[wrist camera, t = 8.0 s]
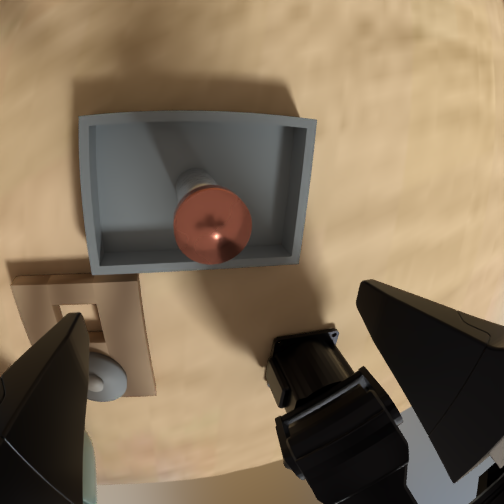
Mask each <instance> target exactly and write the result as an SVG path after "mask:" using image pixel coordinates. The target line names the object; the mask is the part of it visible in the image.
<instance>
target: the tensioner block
mask: <svg viewBox="0 0 504 504" xmlns="http://www.w3.org/2000/svg"><path fill="white" fill-rule="evenodd" d="M10 286H11V290H12V293H13V296H14V299H15V302H16V305H17V308H18V311H19V314H20V317H21V320H22V322H23V325H24V328H25V330H26V333H27V335H28V338H29V340H30V343H31V345H32V346H33V345H34V344H35V343H36V342H37V341H38V340H39V339H40V338H41V337H42V336H43V335H44V334H46V333H47V332H48V331H49V330H50V329H51V328H52V327H53V326H54V325H56V324H57V323H58V322H59V321H60V320H61V319H62V318H63V317H62V313H61V310H60V306H59V305H79V304H97V308H98V313H99V317H100V322H101V326H102V330H103V331H96V332H88V334H89V340H90V343H89V384H88V395H87V399H89V400H92V401H98V402H107V401H112V400H115V399H118V398H119V397H141V396H157V395H156V383H155V378H154V373H153V368H152V362H151V357H150V351H149V345H148V339H147V333H146V327H145V320H144V313H143V306H142V298H141V290H140V281H139V273H132V274H110V275H92V273H84V274H59V275H33V276H16V278H15V279H14V281H13V282H12V284H11V285H10Z"/></svg>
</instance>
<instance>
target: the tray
mask: <svg viewBox="0 0 504 504" xmlns="http://www.w3.org/2000/svg"><path fill="white" fill-rule="evenodd" d="M316 125H317V120H315V119H308V118H299V117H291V116H281V115H270V114H258V113H244V112H225V111H139V112H121V113H107V114H96V115H86V116H79V164H80V182H81V195H82V206H83V216H84V225H85V233H86V240H87V247H88V254H89V260H90V266H91V272H92V275H110V274H132V273H152V272H172V271H191V270H209V269H226V268H243V267H260V266H276V265H291V264H299V258H300V252H301V245H302V238H303V231H304V224H305V217H306V209H307V202H308V194H309V186H310V178H311V170H312V161H313V153H314V144H315V134H316ZM192 168H199V169H203V170H205V171H206V172H208V173H209V174H210V176H211V177H212V178H213V179H214V181H215V182H216V183H217V185H219V186H223V187H226V188H228V189H230V190H231V191H233V192H234V193H235V194H236V195H237V196H238V197H239V198H240V199H241V200H242V201H243V202H244V204H245V205H246V206H247V208H248V210H249V212H250V215H251V219H252V231H251V236H250V238H249V241H248V243H247V244H246V246H245V247H244V249H243V250H242V251H241V252H240V253H239V254H238V255H237V256H235V257H234V258H232V259H231V260H229V261H226V262H224V263H220V264H214V265H208V264H201V263H198V262H195V261H193V260H191V259H190V258H188V257H187V256H186V255H185V254H184V253H183V252H182V251H181V250H180V248H179V247H178V245H177V243H176V240H175V236H174V228H173V216H174V212H175V209H176V207H177V205H178V199H177V193H176V183H177V180H178V178H179V176H180V175H181V174H182V173H183V172H185V171H186V170H189V169H192Z"/></svg>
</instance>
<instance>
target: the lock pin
mask: <svg viewBox="0 0 504 504" xmlns="http://www.w3.org/2000/svg"><path fill="white" fill-rule="evenodd" d="M176 193H177V199H178V205H177V207H176V209H175V212H174V216H173V228H174V236H175V240H176V243H177V245H178V247H179V248H180V250H181V251H182V252H183V253H184V254H185V255H186V256H187V257H188V258H190V259H191V260H193V261H195V262H198V263H201V264H208V265H214V264H220V263H224V262H226V261H229V260H231V259H232V258H234V257H235V256H237V255H238V254H239V253H240V252H241V251H242V250H243V249H244V247H245V246H246V244H247V243H248V241H249V238H250V236H251V231H252V219H251V215H250V212H249V210H248V208H247V206H246V205H245V204H244V202H243V201H242V200H241V199H240V198H239V197H238V196H237V195H236V194H235V193H234V192H233V191H231V190H230V189H228V188H226V187H223V186H219V185H217V183H216V182H215V181H214V179H213V178H212V177H211V176H210V174H209V173H208V172H206V171H205V170H203V169H199V168H192V169H189V170H186V171H185V172H183V173H182V174H181V175H180V176H179V178H178V180H177V183H176Z"/></svg>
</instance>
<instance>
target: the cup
mask: <svg viewBox="0 0 504 504" xmlns="http://www.w3.org/2000/svg"><path fill="white" fill-rule="evenodd" d="M83 504H97V481H96V460H95V452H94V447H93V443H92V440H91V438H90V436H89V435H88V433H87V432H86V431H85V429H84V446H83Z"/></svg>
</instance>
